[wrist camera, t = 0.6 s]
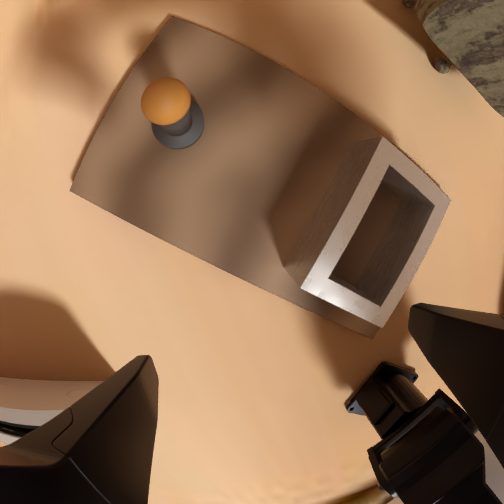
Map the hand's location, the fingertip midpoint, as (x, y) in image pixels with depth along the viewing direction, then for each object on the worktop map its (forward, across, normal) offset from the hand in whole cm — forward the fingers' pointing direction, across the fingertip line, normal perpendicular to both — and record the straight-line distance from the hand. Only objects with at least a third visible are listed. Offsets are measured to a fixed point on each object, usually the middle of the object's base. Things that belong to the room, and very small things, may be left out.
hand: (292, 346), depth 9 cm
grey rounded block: (+12, +20, +10) cm, 26 cm away
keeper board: (+12, -3, -5) cm, 13 cm away
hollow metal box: (+11, -8, -1) cm, 14 cm away
